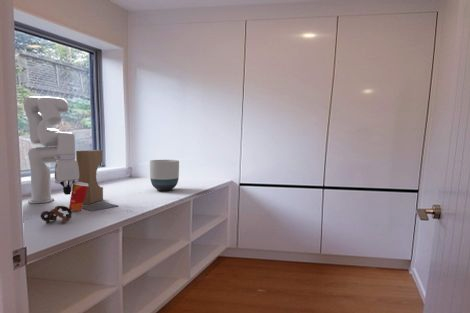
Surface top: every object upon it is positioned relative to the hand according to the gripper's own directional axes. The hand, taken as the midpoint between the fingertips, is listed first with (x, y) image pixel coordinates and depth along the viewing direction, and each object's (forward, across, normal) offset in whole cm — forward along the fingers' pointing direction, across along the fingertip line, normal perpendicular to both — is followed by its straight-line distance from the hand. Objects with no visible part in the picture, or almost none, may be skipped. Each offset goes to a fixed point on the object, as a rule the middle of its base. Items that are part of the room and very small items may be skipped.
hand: (67, 194), depth 149 cm
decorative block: (+9, +19, +16) cm, 27 cm away
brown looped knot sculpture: (+10, -11, -15) cm, 21 cm away
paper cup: (+9, +3, 0) cm, 9 cm away
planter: (+9, +72, +16) cm, 75 cm away
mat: (+9, +16, 0) cm, 18 cm away
